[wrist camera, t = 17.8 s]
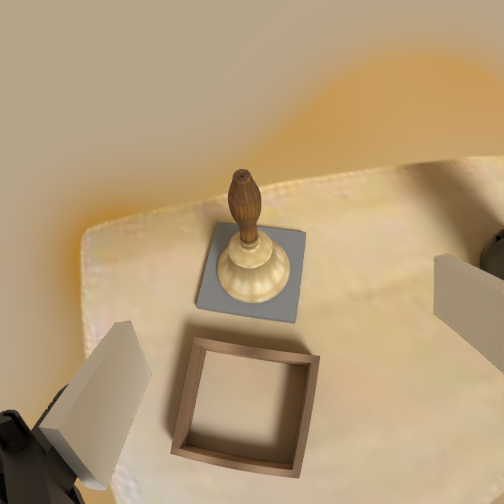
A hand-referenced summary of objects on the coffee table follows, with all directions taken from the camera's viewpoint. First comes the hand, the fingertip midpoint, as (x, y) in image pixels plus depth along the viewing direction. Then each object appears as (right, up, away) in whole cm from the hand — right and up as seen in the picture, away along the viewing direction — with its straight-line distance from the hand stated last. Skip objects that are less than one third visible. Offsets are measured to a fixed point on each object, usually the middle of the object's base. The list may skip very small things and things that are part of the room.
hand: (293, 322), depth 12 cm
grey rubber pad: (-1, +1, +24) cm, 24 cm away
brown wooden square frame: (-2, -13, +17) cm, 22 cm away
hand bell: (-1, +1, +24) cm, 24 cm away
